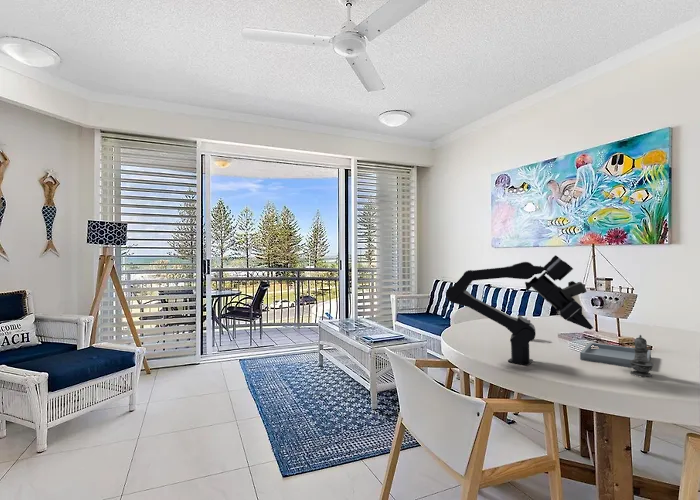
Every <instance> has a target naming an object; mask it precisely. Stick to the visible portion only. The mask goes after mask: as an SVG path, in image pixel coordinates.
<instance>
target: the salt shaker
mask: <svg viewBox="0 0 700 500" xmlns="http://www.w3.org/2000/svg"><path fill="white" fill-rule="evenodd" d="M647 347H648V346H647V339H645V338H643V337H642V335H641V334H640V335H639V336H638V337H636V338H635V339H634V347H633V348H634V349H633V350H635V357H634V359H633V360H630V361H629V362H630V365H631V367H632V368H631V369H633V370H631V371H630V374H631V375H633V376H635V375H636V376H635V377H639V376H641V378H653V377H654V376H653V375H654V374H652V373H650V372H651V371H652V369H653V367H654V363H653V362H651V361H650V362H649V361H648V358H647V352H648V350H649V349H648V348H647ZM652 376H653V377H652Z"/></svg>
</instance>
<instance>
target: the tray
mask: <svg viewBox="0 0 700 500" xmlns="http://www.w3.org/2000/svg"><path fill="white" fill-rule="evenodd" d="M592 345H594V346H598V347H599V349H591V346H592ZM634 348H635V347H630V346H628V347H627V346H620V345H612V344H605V343H597V342H596V343H595V342H588V344H587V345H586V346H584V348H583V349H582V350H581V351H580V352H579V356H580V357H579V359H580V360H581V361H586V362H591V363H600V364H604V365H605V364H606V365H610V366H611V365H613V366H618V367H619V366H620V367H625V368H629V369H630V368H631V369H633V368H632V367H631V365H630V362H629V361H630V360H633V359H634V357H635V350H633V349H634ZM647 350H648V352H647V358H648V361H649V362H651V358H652V356H651V354H652V351H651V349H647Z"/></svg>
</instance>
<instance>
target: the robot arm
mask: <svg viewBox="0 0 700 500" xmlns="http://www.w3.org/2000/svg"><path fill="white" fill-rule="evenodd" d="M573 270H574V268H573V267H572V266H571V265H570V264H569V263H567V262H566V260H565V261H564V260H562V259H561V258H560V257H559V256H557V255H554V256H553V257H552V258H551V259H550V260H549V261H548V262H547V263H546V264H545V265H544V266H541V265H534V264H532V263H531V262H529V261H521V262H519V263H514V264H511V265H508V266H504V267H503V266H502V267H494V268H493V267H492V268H482V269H474V270H472V269H469V270H465V271H464V273H463V274H462V275H461V277H460V278H459V279H458V281H456V282H455V283H454V284H453V285H451V286H450V287H448V288H447V290H445V297H446V299H447V300H448V302H451V303H453V304H456V305H459V306H464V307H467V308H469V309H472V310H473V311H475V312H476V313H479V314H480V315H482V316H483V317H486V318H488V319H490V320H491V321H493V322H495V323H497V324H499V325H501V326H503V327H504V328H505V329H507V331H509V332H510V333H511V336H510V340H509V341H510V353H511V355H510V357H511V358H509V359H507V362H508V363H512V364H513V363H514V364H518V365H523V366H528V365H530V364H531V363H533V362H534V359H532V358H530V342H532V341H533V340H534V339H535V338H536V327H535V325H534V324H533V323H532V322H531V320H530V319H527V320H526V319H524V318H523V317H522V316H523V315H520V314H519V315H517V316H518V318H517V317H513V316H510V315H509V314H506V313H505V312H503V311H501V310H500V309H497V308H495V307H493V306H491V305H489V304H488V303H486V302H484V301H482V300H481V299H480V300H479V299H478V298H477V297H475V296H473V295H472V294H471V293H470V292H469V291H468V290H467V288H469V286H470V284H472V282H473V281H484V280H491V279H492V280H494V279H505V278H506V279H517V280H528V279H529V280H530V281H525V282H524V284H525V291H529V290H530V289H531V288H532V289H533V290H534V291H536V293H538V294H539V295H540V296H541V297H542V298H543V299H544V300H545V301H546V302H548V303H549V304H550V305H551V306H552V307H554V308H555V310H556V311H557V312H559V313H558V314H559V316H560V317H561V318H562V319H564V320H565V321H568V322H571V323H573V324H575V325H578V326H580V327H582V328H585V329H587V330H593V329H594V327H593V326H592V324H591V323H590V322H589V320H588V319H587V318H586V317H585V316H584V314H583V306H582V305H581V304H580V303H579V302H577V300H575V299H574V297H576V296H577V295H580V294H585V293H587V289H586V287H585V286H584V284H583V283H582V282H581V281H579V282H578V281H577V282H576V281H574V280H571V281H569V282H568V283H567V284H568V285H567V286H566V287H564V288H562V287H561V286H558V285H557V284H556V283H554V282H556V281H562V280H563V279H564V278H566V276H567V275H569V274H570V273H571V272H572V271H573ZM535 275H539V276H538V277H537V276H535ZM546 275H547V276H546ZM550 278H551V279H552V280H553V281H554V282H553V281H552V280H551V279H550Z"/></svg>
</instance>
